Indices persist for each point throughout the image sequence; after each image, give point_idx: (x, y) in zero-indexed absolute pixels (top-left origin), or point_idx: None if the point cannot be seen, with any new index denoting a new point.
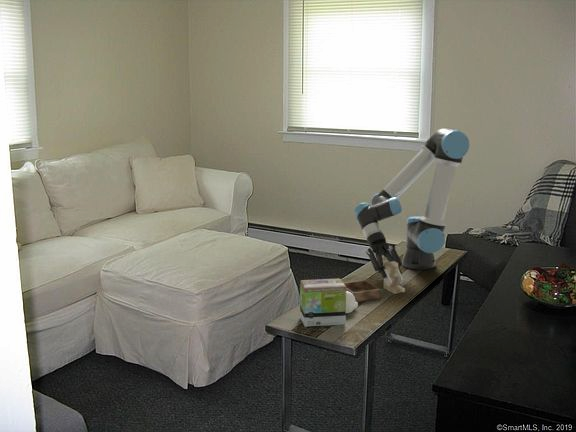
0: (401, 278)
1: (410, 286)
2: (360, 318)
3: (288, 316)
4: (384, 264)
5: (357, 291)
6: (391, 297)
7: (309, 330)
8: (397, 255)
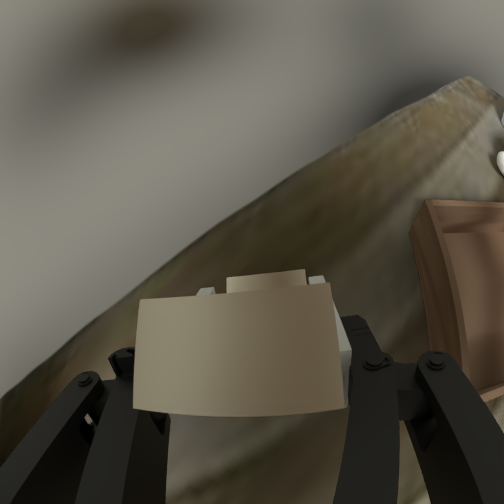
0: (208, 294)
1: None
2: (477, 128)
3: None
4: (340, 391)
5: (490, 351)
6: (348, 233)
7: None
8: (20, 453)
